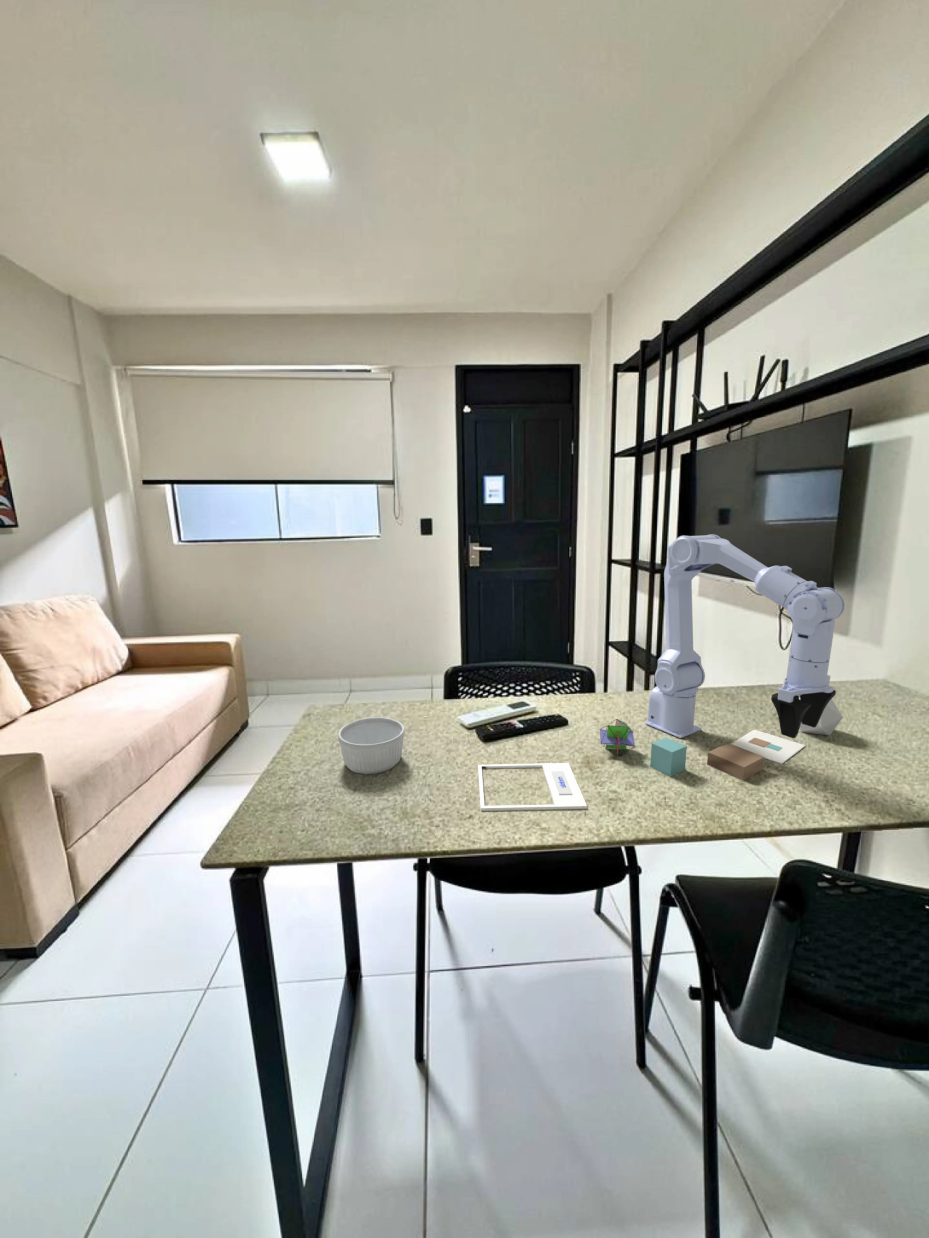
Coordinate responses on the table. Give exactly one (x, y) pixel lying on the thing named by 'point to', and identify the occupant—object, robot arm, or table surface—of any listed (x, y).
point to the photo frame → (558, 782)
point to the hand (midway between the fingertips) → (798, 730)
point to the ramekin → (371, 744)
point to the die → (825, 721)
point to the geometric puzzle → (617, 736)
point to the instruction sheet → (768, 746)
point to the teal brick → (668, 756)
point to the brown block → (735, 761)
